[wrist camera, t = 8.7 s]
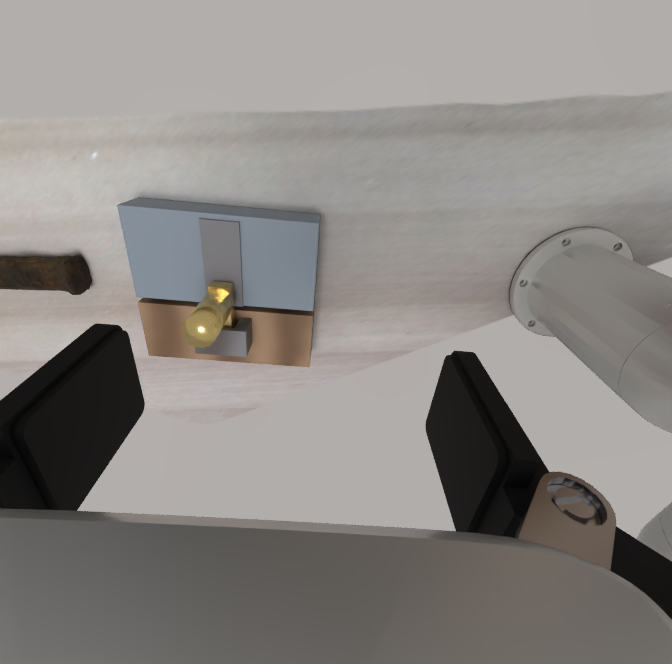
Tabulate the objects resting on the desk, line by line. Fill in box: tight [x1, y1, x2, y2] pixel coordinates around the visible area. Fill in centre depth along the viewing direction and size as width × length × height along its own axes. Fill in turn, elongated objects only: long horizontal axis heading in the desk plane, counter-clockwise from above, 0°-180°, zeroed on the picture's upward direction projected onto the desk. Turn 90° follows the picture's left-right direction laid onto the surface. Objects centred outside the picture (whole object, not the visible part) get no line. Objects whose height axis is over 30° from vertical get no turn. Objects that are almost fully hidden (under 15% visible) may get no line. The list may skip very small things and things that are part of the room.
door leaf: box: [117, 197, 320, 311], centre depth 36 cm, size 18×9×4 cm, turn 85°
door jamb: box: [138, 298, 315, 367], centre depth 39 cm, size 18×7×7 cm, turn 85°
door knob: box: [181, 281, 235, 348], centre depth 33 cm, size 3×7×7 cm, turn 175°
